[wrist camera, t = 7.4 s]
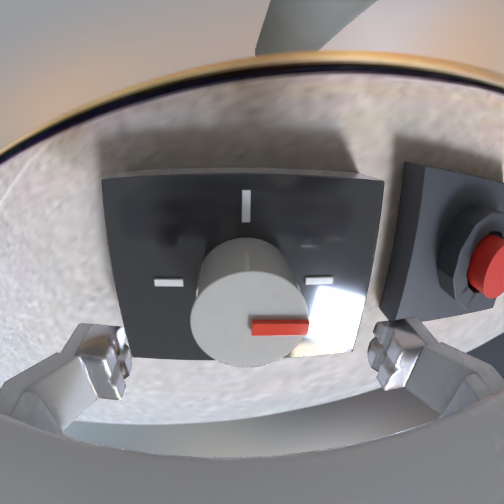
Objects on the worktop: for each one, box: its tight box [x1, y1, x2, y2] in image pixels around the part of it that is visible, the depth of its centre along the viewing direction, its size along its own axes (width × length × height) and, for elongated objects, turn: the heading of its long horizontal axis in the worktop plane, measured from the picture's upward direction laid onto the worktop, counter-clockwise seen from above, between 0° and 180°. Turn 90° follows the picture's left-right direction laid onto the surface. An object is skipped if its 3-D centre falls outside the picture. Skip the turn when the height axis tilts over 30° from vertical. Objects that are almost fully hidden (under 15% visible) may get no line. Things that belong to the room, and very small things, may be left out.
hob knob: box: [190, 238, 310, 367], centre depth 12 cm, size 4×4×4 cm
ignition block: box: [380, 162, 504, 322], centre depth 16 cm, size 10×11×4 cm
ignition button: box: [467, 234, 504, 299], centre depth 13 cm, size 4×4×2 cm
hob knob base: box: [102, 167, 384, 360], centre depth 15 cm, size 10×13×3 cm
